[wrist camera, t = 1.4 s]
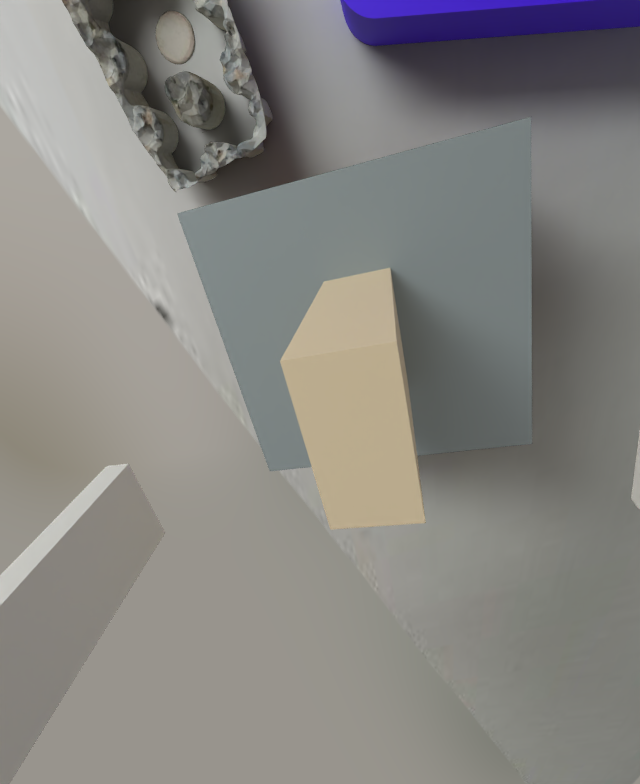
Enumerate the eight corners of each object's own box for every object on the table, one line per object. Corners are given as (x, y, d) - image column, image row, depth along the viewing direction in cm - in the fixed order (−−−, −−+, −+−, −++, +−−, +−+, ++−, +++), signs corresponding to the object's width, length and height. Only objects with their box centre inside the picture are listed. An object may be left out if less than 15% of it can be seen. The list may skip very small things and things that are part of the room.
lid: (186, 211, 19) (14, 243, 10) (522, 120, 15) (706, 47, 7) (273, 460, 25) (215, 615, 16) (526, 432, 22) (623, 607, 13)
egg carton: (91, -9, 22) (34, -46, 18) (209, -87, 20) (171, -146, 16) (183, 196, 26) (151, 199, 23) (288, 149, 24) (272, 144, 21)
